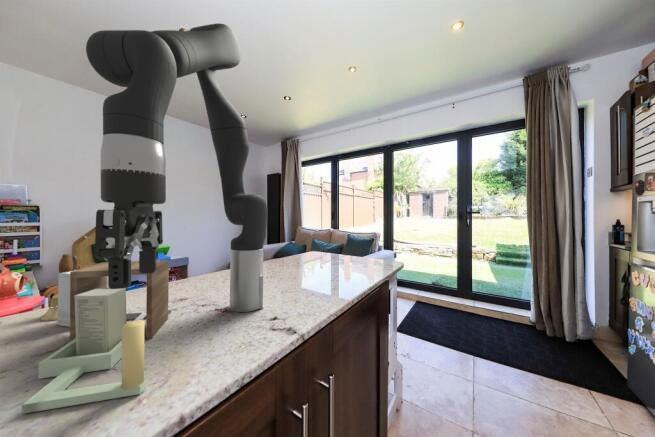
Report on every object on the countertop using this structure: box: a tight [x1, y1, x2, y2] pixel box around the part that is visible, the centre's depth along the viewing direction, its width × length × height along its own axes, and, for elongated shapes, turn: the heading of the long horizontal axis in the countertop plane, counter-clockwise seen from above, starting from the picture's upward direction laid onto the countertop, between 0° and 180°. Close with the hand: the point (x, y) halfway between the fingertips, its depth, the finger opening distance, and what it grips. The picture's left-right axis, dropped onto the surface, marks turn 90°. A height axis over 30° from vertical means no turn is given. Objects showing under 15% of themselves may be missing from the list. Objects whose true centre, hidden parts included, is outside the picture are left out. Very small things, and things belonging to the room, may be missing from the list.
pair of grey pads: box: [126, 309, 172, 322], centre depth 62 cm, size 12×4×1 cm, turn 107°
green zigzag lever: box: [21, 320, 147, 414], centre depth 41 cm, size 17×18×10 cm
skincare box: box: [75, 288, 128, 356], centre depth 45 cm, size 6×4×12 cm
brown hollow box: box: [69, 259, 170, 342], centre depth 54 cm, size 14×10×15 cm
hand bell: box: [40, 253, 74, 322], centre depth 63 cm, size 8×8×16 cm
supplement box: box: [57, 270, 111, 328], centre depth 59 cm, size 7×7×13 cm
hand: (135, 279), depth 36 cm, fingers open, 8 cm apart
